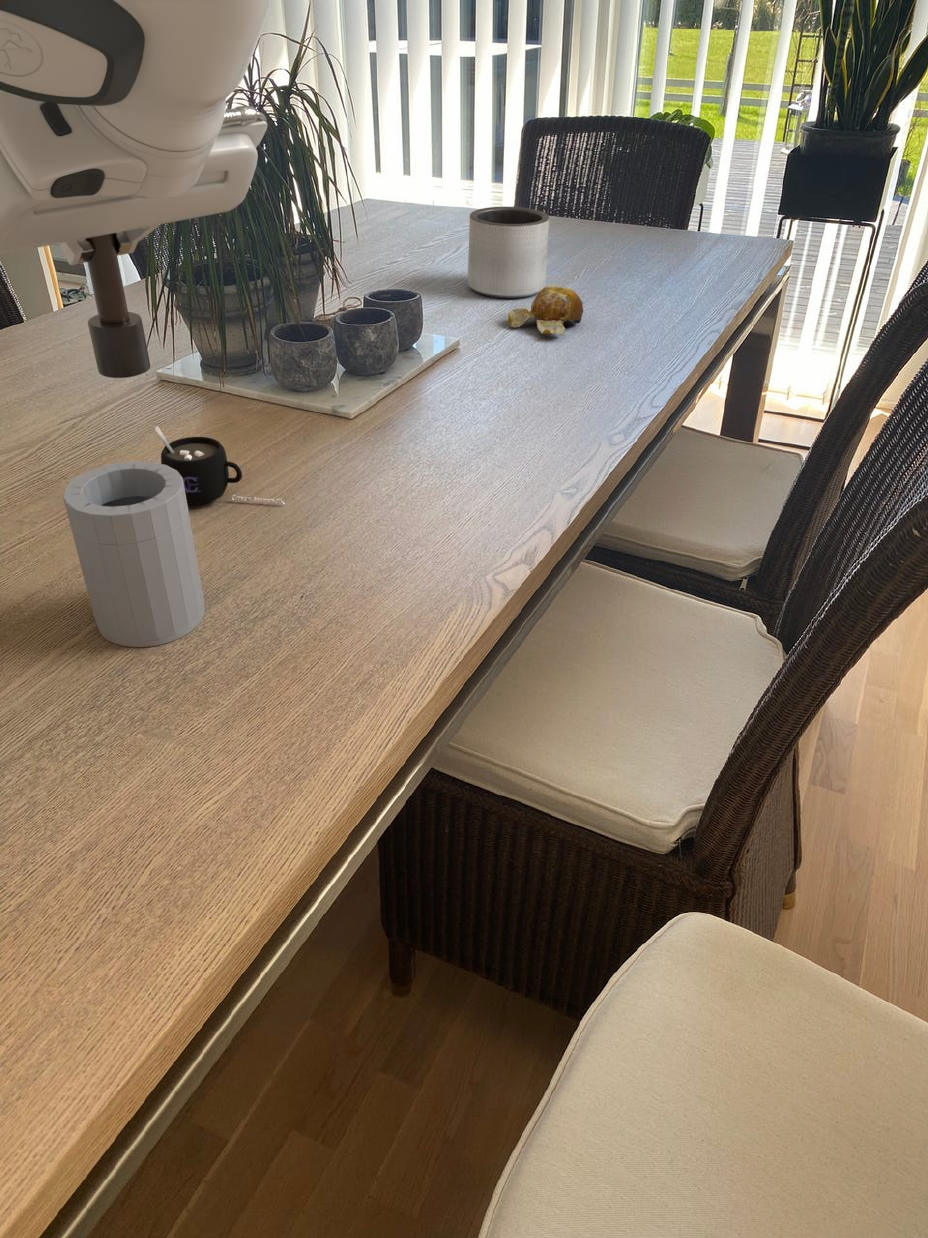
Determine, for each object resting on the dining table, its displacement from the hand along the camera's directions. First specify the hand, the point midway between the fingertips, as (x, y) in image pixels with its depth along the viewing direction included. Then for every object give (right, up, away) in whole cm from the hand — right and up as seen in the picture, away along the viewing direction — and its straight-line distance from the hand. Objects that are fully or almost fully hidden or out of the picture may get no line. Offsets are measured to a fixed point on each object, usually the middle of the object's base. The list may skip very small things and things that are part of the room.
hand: (96, 251), depth 71 cm
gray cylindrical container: (+2, -27, +7) cm, 28 cm away
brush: (0, -8, +5) cm, 9 cm away
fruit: (+38, +12, +66) cm, 77 cm away
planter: (+34, +26, +82) cm, 93 cm away
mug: (+4, -16, +24) cm, 29 cm away
